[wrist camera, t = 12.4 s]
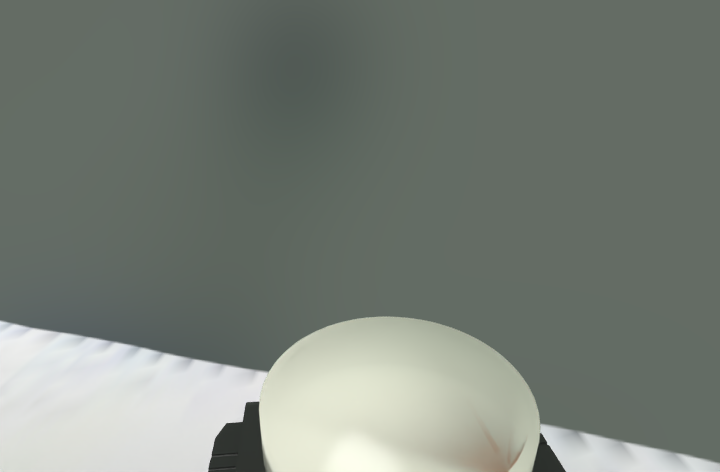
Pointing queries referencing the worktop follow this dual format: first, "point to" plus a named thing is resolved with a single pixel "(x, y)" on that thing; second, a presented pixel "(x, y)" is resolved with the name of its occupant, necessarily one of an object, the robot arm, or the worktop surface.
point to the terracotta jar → (396, 402)
